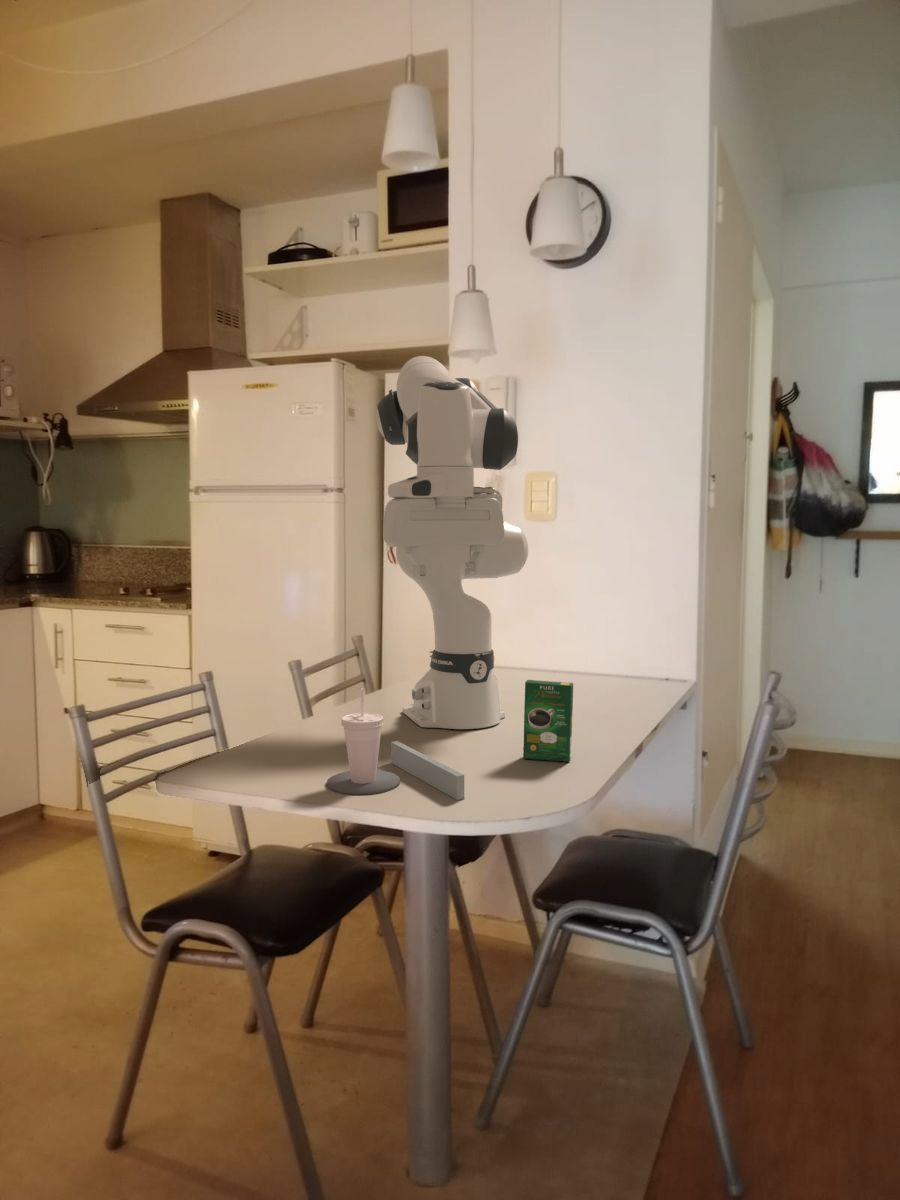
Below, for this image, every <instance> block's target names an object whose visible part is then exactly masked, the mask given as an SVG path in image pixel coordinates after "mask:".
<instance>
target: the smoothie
mask: <svg viewBox="0 0 900 1200" xmlns="http://www.w3.org/2000/svg"><path fill="white" fill-rule="evenodd" d="M359 692H360V693H359V694H360V712H359V713H352V714H351V713H350V714H347V715H343V716H342V717H341V727H343V731H344V738H345V745H346V753H347V760H348V765H349V771H350V774H351V781H352V782H354V783H358V784H366V783H371V782H374V781H375V780H376V773H377V770H378V762H379V753H380V752H379V751H380V745H381V744H380V743H381V735H382V733H381V732H382V726H383V725H384V716H383V715H382V714H378V713H371V712H365V688H364V687H362V688H360V691H359Z"/></svg>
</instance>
